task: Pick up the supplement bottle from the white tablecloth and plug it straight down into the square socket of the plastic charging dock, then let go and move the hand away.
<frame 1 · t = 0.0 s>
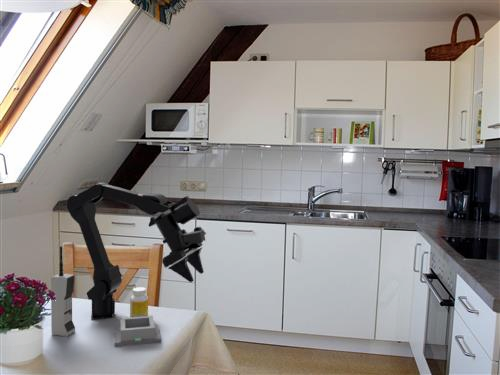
hand: (197, 277, 129), 15 cm above the table, tool tilted 35°, fingers open, 9 cm apart
supplement bottle: (139, 319, 134), on the table
charging dock: (137, 336, 121), on the table
vintage mobile phone: (63, 334, 122), on the table
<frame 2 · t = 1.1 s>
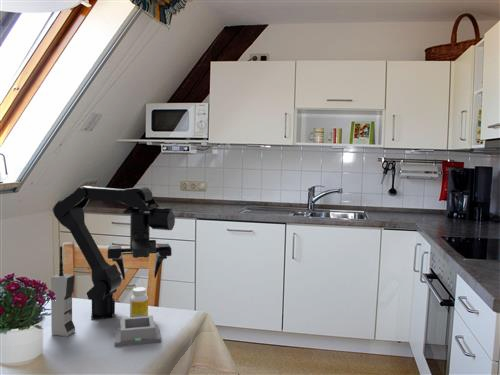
hand: (139, 278, 133), 13 cm above the table, tool pointing down, fingers open, 9 cm apart
nothing on the table moved.
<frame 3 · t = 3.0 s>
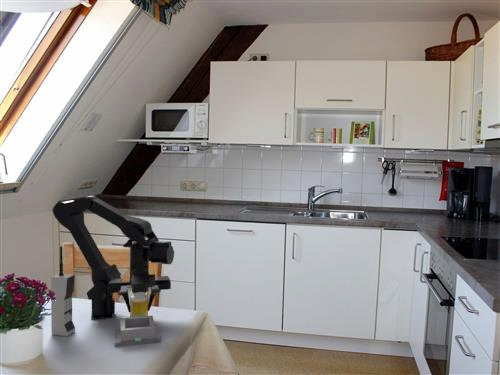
hand: (139, 311, 134), 3 cm above the table, tool pointing down, fingers closed on supplement bottle, 5 cm apart
supplement bottle: (139, 319, 134), on the table, touching gripper
everything else where it was.
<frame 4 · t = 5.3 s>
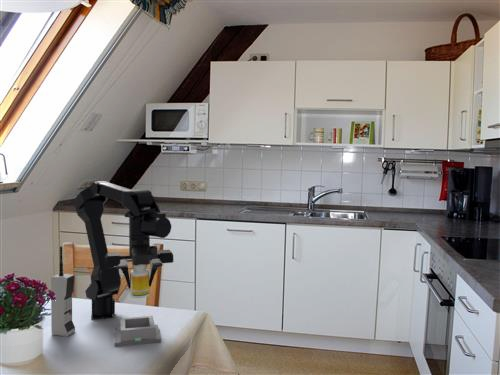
hand: (139, 287, 125), 13 cm above the table, tool pointing down, fingers closed on supplement bottle, 5 cm apart
supplement bottle: (139, 296, 125), point 10 cm above the table, touching gripper
everything else where it was.
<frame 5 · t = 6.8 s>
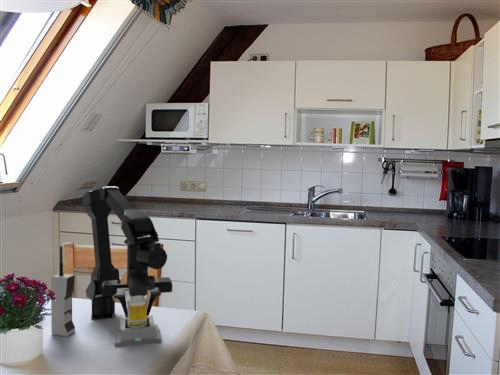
hand: (137, 316, 121), 6 cm above the table, tool pointing down, fingers closed on supplement bottle, 5 cm apart
supplement bottle: (137, 325, 121), point 3 cm above the table, touching gripper
everything else where it was.
when the fingers open (5 cm above the table, at t = 7.8 s): supplement bottle drops 1 cm, resting on charging dock.
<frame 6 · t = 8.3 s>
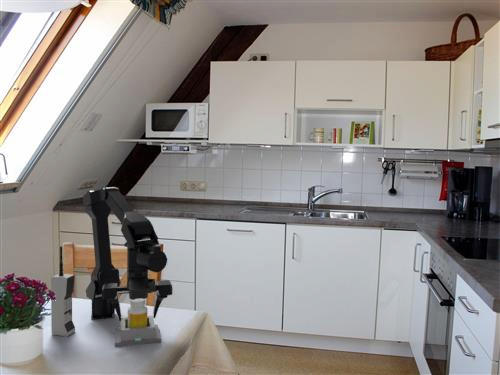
hand: (137, 319, 121), 5 cm above the table, tool pointing down, fingers open, 9 cm apart
supplement bottle: (137, 333, 121), point 1 cm above the table, touching charging dock
everything else where it was.
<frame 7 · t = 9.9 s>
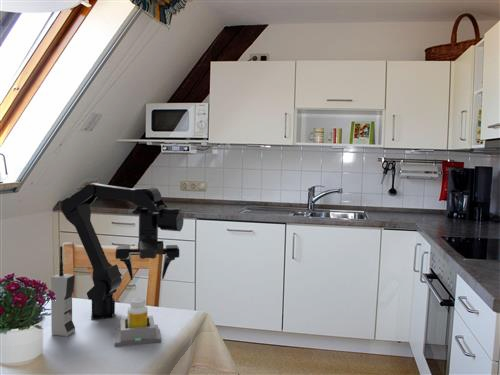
hand: (147, 279, 133), 13 cm above the table, tool pointing down, fingers open, 9 cm apart
nothing on the table moved.
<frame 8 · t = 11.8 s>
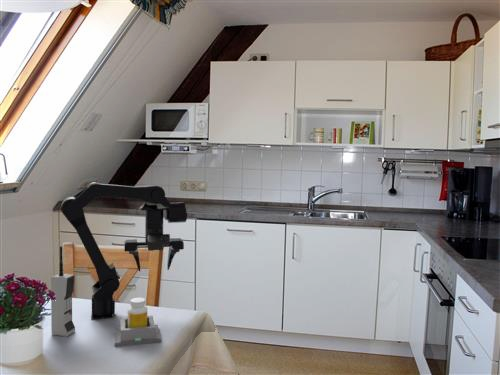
hand: (153, 270, 142), 13 cm above the table, tool pointing down, fingers open, 9 cm apart
nothing on the table moved.
at the end: supplement bottle 0.1 cm off-centre on the charging dock, point 0.8 cm above the charging dock's base; supplement bottle tilted 0°; the gripper is holding nothing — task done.
